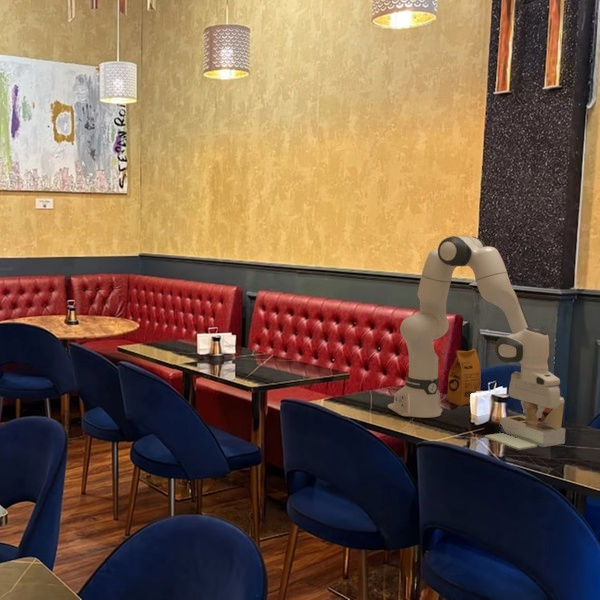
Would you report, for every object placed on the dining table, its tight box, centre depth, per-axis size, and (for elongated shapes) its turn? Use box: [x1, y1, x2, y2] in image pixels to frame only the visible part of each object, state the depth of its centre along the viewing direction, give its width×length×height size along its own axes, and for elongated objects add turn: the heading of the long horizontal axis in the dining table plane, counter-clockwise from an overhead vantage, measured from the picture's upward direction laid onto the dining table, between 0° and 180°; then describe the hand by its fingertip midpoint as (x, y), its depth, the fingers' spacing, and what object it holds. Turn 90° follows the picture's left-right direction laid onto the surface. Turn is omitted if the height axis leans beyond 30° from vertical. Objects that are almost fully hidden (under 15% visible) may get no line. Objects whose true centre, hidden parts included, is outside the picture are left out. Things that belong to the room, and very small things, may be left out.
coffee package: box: [446, 348, 482, 407], centre depth 295 cm, size 10×12×22 cm
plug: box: [525, 402, 539, 426], centre depth 245 cm, size 4×4×12 cm
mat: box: [484, 432, 538, 451], centre depth 240 cm, size 16×8×1 cm, turn 27°
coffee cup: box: [538, 396, 565, 428], centre depth 254 cm, size 9×9×12 cm
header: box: [499, 414, 566, 448], centre depth 245 cm, size 20×10×5 cm, turn 27°
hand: (532, 415), depth 245 cm, fingers closed on plug, 4 cm apart
